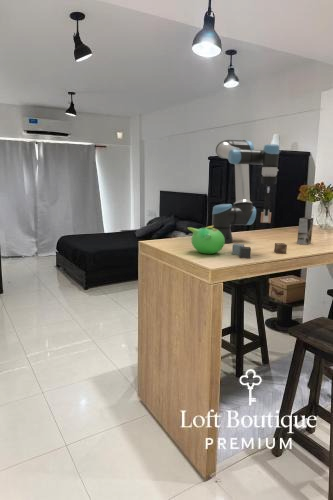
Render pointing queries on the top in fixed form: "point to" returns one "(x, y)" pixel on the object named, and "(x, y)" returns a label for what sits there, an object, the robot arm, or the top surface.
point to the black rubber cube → (245, 252)
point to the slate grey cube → (236, 248)
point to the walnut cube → (280, 248)
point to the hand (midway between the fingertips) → (265, 221)
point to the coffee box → (305, 231)
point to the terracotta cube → (262, 217)
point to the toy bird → (207, 239)
